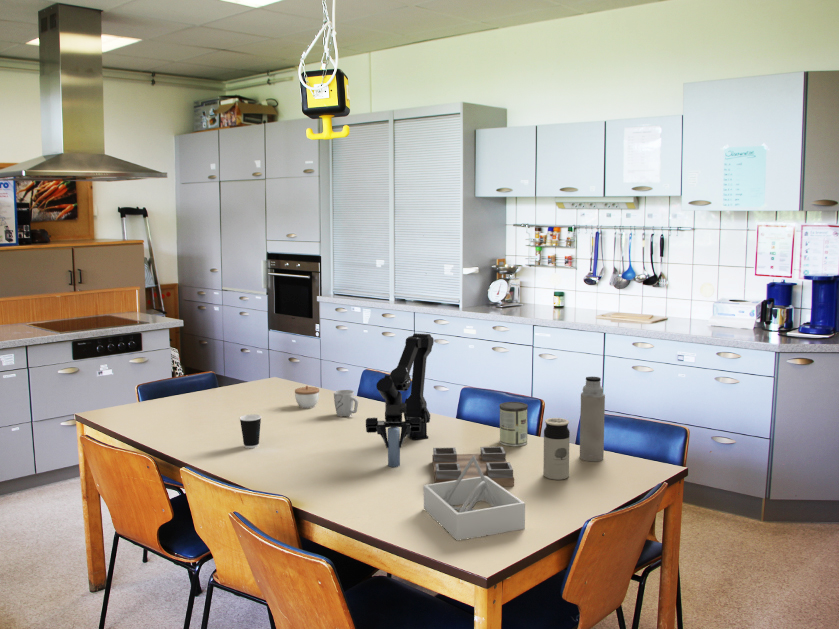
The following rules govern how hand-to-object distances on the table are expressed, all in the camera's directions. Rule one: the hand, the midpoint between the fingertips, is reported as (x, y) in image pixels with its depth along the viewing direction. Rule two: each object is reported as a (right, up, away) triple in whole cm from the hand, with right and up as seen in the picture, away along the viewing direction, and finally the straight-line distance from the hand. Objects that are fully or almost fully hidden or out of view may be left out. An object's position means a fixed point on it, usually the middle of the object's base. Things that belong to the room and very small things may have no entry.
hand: (393, 447), depth 239 cm
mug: (-22, +1, +66) cm, 70 cm away
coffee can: (+43, -3, +26) cm, 51 cm away
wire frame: (+21, -12, -41) cm, 48 cm away
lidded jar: (-41, +3, +82) cm, 92 cm away
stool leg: (0, -6, +2) cm, 7 cm away
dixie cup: (-53, -4, +24) cm, 58 cm away
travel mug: (+52, -8, -10) cm, 53 cm away
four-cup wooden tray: (+25, -7, -6) cm, 27 cm away
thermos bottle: (+67, -5, +8) cm, 68 cm away
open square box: (+23, -12, -42) cm, 49 cm away
